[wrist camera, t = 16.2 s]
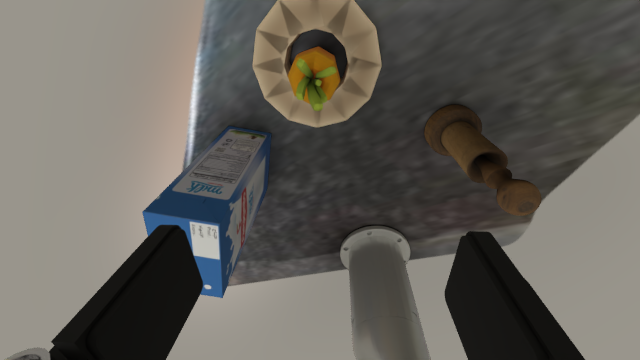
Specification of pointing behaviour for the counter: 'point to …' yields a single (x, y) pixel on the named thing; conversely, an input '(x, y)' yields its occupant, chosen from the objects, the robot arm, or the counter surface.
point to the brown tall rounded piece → (479, 157)
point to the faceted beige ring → (275, 50)
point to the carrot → (314, 77)
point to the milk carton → (217, 202)
